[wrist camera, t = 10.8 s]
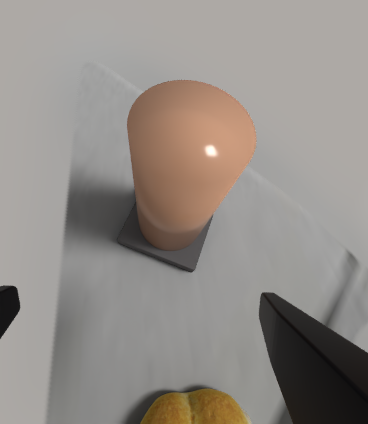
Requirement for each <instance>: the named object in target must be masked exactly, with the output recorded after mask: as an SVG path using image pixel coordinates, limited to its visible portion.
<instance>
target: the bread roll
mask: <svg viewBox="0 0 368 424" xmlns="http://www.w3.org/2000/svg"><path fill="white" fill-rule="evenodd" d="M140 424H251V420H250V418H249V416H248V414H247V413H246V412H245V411H244V410H243V409H242V408H241V407H240V406H239V405H238V403H237V402H236V401H235V400H234V399H233V398H232V397H231V396H230V395H228V394H226V393H224V392H221V391H218V390H214V389H207V388H204V389H200V390H196V391H193V392H187V393H179V392H173V393H167V394H164V395H162V396H160V397H159V398H157V399H156V400H155V401H154V403H153V404H152V405H151V406H150V408H149V409H148V411H147V412H146V414H145V416H144V417H143V419H142V421H141V423H140Z"/></svg>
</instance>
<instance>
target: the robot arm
mask: <svg viewBox="0 0 368 424" xmlns="http://www.w3.org/2000/svg"><path fill="white" fill-rule="evenodd" d="M19 310H20V301H19V296H18V290H17V288H16V287H15V286H0V339H1V337H2V336H3V334H4V333H5V331H6V330H7V328H8V327H9V325H10V324H11V322H12V321H13V320H14V318H15V317H16V315H17V314H18V312H19ZM259 319H260V323H261V327H262V331H263V335H264V339H265V343H266V347H267V351H268V355H269V358H270V362H271V365H272V368H273V371H274V373H275V376H276V379H277V381H278V384H279V387H280V389H281V392H282V395H283V398H284V400H285V403H286V406H287V408H288V411H289V414H290V416H291V419H292V422H293V424H368V353H367V352H365V351H364V350H362V349H361V348H359V347H358V346H356V345H355V344H353V343H351V342H350V341H348V340H347V339H345V338H344V337H342V336H341V335H339V334H337V333H336V332H334V331H333V330H331V329H330V328H328V327H326V326H325V325H323V324H322V323H320V322H319V321H317V320H315V319H314V318H312V317H311V316H309V315H308V314H306V313H304V312H303V311H301V310H300V309H298V308H297V307H295V306H293V305H292V304H290V303H289V302H287V301H286V300H284V299H282V298H281V297H279V296H278V295H276V294H275V293H267V292H264V293H262V294H261V297H260V307H259Z"/></svg>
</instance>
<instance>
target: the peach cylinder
mask: <svg viewBox="0 0 368 424" xmlns="http://www.w3.org/2000/svg"><path fill="white" fill-rule="evenodd" d="M127 129H128V138H129V146H130V154H131V162H132V171H133V179H134V187H135V195H136V204H137V212H138V220H139V227H140V230H141V233H142V235H143V236H144V238H145V239H146V240H147V241H148V242H149V243H150V244H151V245H153V246H154V247H156V248H158V249H161V250H165V251H177V250H181V249H183V248H186V247H187V246H189V245H190V244H192V243H193V242H194V241H195V239H196V238H197V237H198V235H199V234H200V232H201V231H202V229H203V228H204V226H205V225H206V224H207V222H208V221H209V219H210V218H211V216H212V215H213V214H214V212H215V211H216V209H217V208H218V206H219V205H220V203H221V202H222V201H223V199H224V198H225V196H226V195H227V193H228V192H229V190H230V189H231V188H232V186H233V185H234V183H235V182H236V180H237V179H238V178H239V176H240V175H241V173H242V172H243V170H244V169H245V167H246V166H247V165H248V163H249V161H250V160H251V158H252V156H253V154H254V151H255V147H256V132H255V127H254V125H253V121H252V119H251V118H250V116H249V114H248V112H247V111H246V110H245V108H244V107H243V106H242V105H241V104H240V103H239V102H238V101H237V100H236V99H235V98H233V97H232V96H231V95H229V94H228V93H226V92H225V91H223V90H221V89H219V88H217V87H214V86H212V85H210V84H206V83H203V82H198V81H191V80H176V81H168V82H164V83H161V84H158V85H155V86H153V87H151V88H149V89H148V90H146V91H145V92H144V93H142V94H141V95H140V96H139V97H138V98H137V99H136V101H135V102H134V104H133V105H132V107H131V109H130V112H129V115H128V121H127Z"/></svg>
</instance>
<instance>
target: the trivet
mask: <svg viewBox="0 0 368 424" xmlns="http://www.w3.org/2000/svg"><path fill="white" fill-rule="evenodd" d="M212 217H213V215H212V216H211V218H210V219H209V221H208V222H207V224H206V225H205V226H204V228H203V229H202V231H201V232H200V234H199V235H198V237H197V238H196V239H195V241H194V242H193V243H192V244H190V245H189V246H187V247H186V248H183V249H181V250H177V251H165V250H161V249H158V248H156V247H154V246H153V245H151V244H150V243H149V242H148V241H147V240H146V239H145V238H144V236H143V235H142V233H141V230H140V227H139V220H138V212H137V204H136V203H135V205H134V207H133V208H132V210H131V212H130V214H129V216H128V218H127V220H126V222H125V224H124V226H123V228H122V230H121V232H120V234H119V236H118V238H117V240H118V243H119V244H122V245H124V246H127V247H129V248H132V249H134V250H137V251H139V252H142V253H144V254H147V255H149V256H152V257H154V258H157V259H159V260H162V261H164V262H167V263H169V264H172V265H175V266H177V267H180V268H182V269H185V270H187V271H190V272H193V271H194V270H195V268H196V265H197V262H198V259H199V256H200V253H201V250H202V247H203V244H204V241H205V238H206V235H207V232H208V229H209V226H210V223H211V220H212Z"/></svg>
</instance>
